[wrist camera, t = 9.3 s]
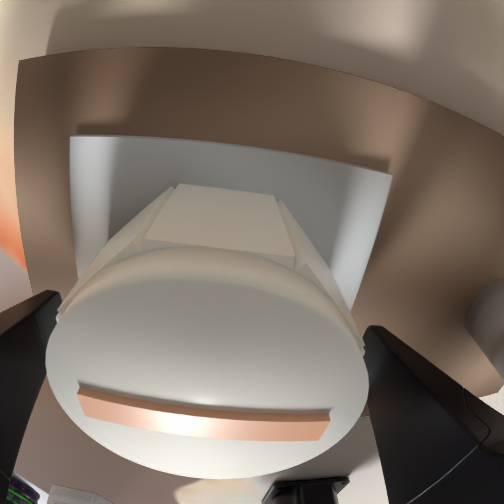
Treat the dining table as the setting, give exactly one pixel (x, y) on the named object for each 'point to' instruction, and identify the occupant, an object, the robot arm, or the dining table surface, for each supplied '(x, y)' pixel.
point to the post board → (276, 181)
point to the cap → (209, 340)
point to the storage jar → (21, 493)
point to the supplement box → (73, 496)
